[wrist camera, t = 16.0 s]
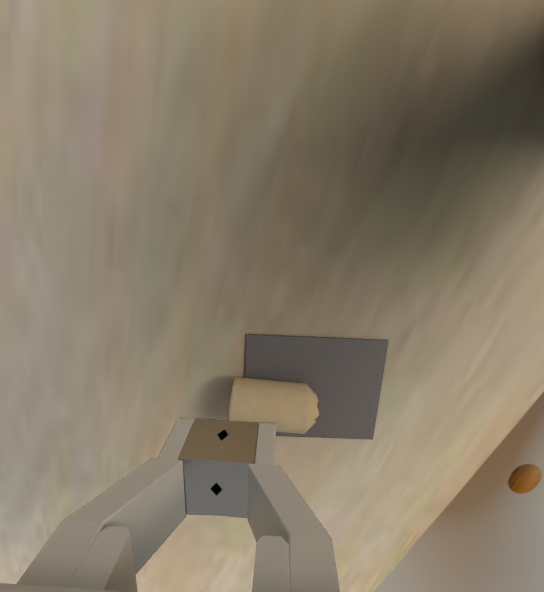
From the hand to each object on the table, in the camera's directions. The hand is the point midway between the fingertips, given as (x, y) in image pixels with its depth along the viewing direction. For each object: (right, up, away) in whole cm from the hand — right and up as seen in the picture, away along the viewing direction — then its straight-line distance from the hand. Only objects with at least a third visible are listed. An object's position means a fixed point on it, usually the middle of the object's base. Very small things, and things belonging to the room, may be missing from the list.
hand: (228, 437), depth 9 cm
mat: (+6, -7, +27) cm, 29 cm away
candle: (-4, -8, +24) cm, 26 cm away
